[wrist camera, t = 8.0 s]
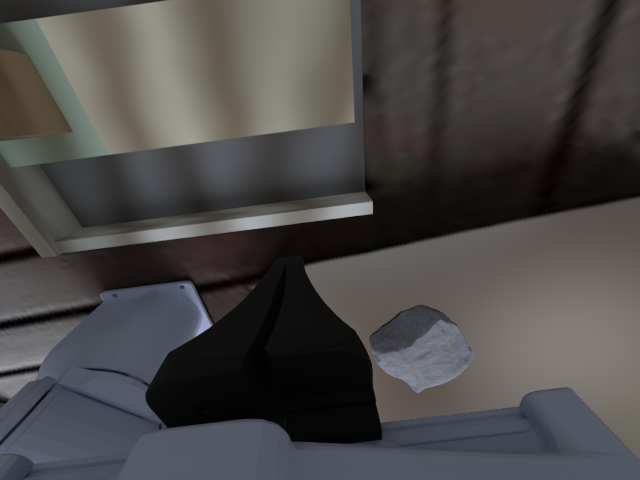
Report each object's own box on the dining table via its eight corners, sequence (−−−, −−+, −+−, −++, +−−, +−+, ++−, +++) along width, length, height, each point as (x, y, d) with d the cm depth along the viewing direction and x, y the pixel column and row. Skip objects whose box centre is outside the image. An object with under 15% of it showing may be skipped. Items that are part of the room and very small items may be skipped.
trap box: (80, 237, 21) (42, 257, 18) (-173, -120, 11) (-346, -205, 8) (364, 201, 21) (374, 215, 18) (354, -198, 11) (372, -314, 8)
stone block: (416, 286, 28) (359, 339, 30) (444, 311, 24) (375, 372, 25) (459, 328, 33) (408, 373, 34) (488, 356, 29) (429, 405, 30)
